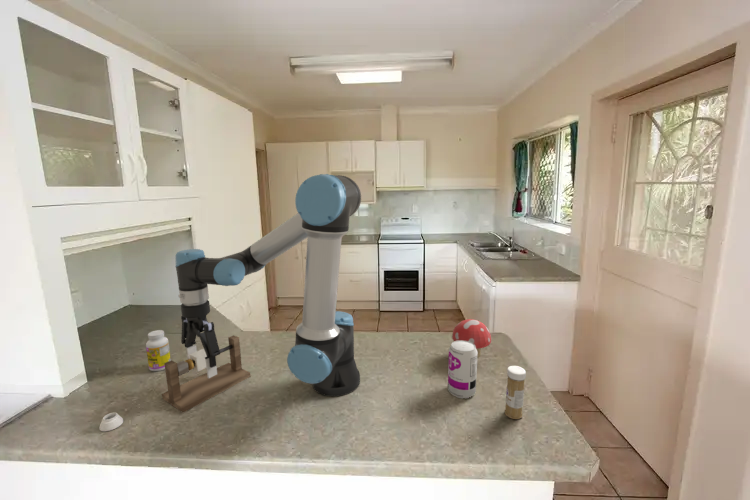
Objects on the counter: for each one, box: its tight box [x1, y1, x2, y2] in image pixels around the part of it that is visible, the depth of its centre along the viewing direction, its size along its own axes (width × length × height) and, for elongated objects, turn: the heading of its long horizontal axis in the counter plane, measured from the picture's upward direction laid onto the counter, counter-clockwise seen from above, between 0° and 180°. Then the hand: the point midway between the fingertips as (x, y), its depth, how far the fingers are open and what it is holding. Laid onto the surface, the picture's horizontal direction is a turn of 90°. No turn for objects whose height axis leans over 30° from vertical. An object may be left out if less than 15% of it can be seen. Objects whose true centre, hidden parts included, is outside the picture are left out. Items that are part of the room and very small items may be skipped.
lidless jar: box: [98, 412, 124, 432], centre depth 91 cm, size 5×3×5 cm
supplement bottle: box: [145, 329, 172, 372], centre depth 119 cm, size 7×7×13 cm
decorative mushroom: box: [451, 318, 492, 360], centre depth 122 cm, size 13×13×15 cm
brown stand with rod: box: [161, 335, 252, 414], centre depth 107 cm, size 12×22×13 cm, turn 146°
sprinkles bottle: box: [504, 365, 527, 420], centre depth 92 cm, size 5×5×14 cm
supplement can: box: [447, 340, 478, 399], centre depth 103 cm, size 8×8×15 cm
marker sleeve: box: [189, 347, 207, 372], centre depth 105 cm, size 4×5×4 cm
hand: (202, 370), depth 106 cm, fingers open, 10 cm apart
